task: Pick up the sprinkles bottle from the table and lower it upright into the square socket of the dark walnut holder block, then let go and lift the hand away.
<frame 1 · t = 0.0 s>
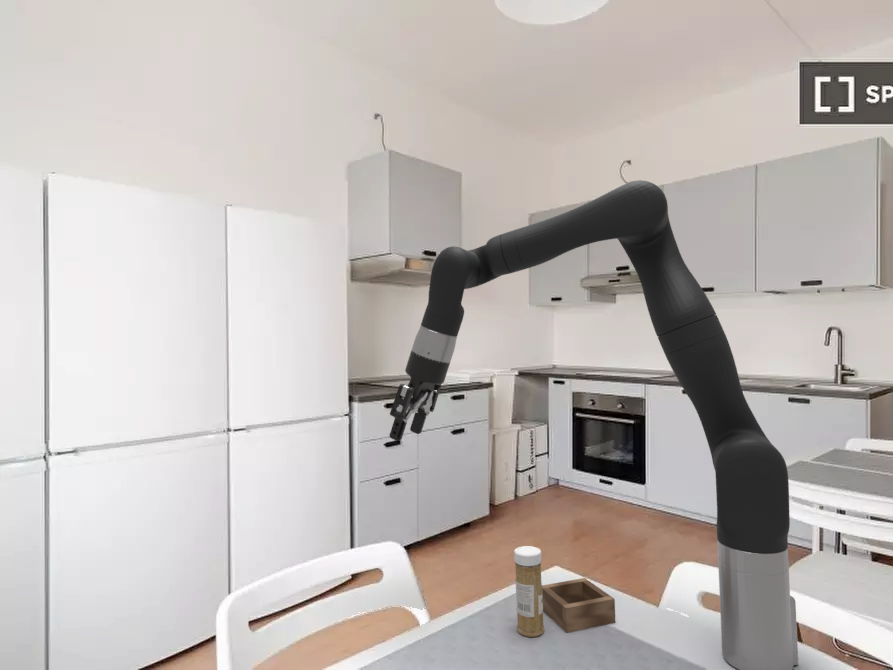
hand: (405, 435, 104), 31 cm above the table, tool tilted 20°, fingers open, 8 cm apart
sprinkles bottle: (530, 632, 93), on the table
walnut holder: (576, 615, 98), on the table
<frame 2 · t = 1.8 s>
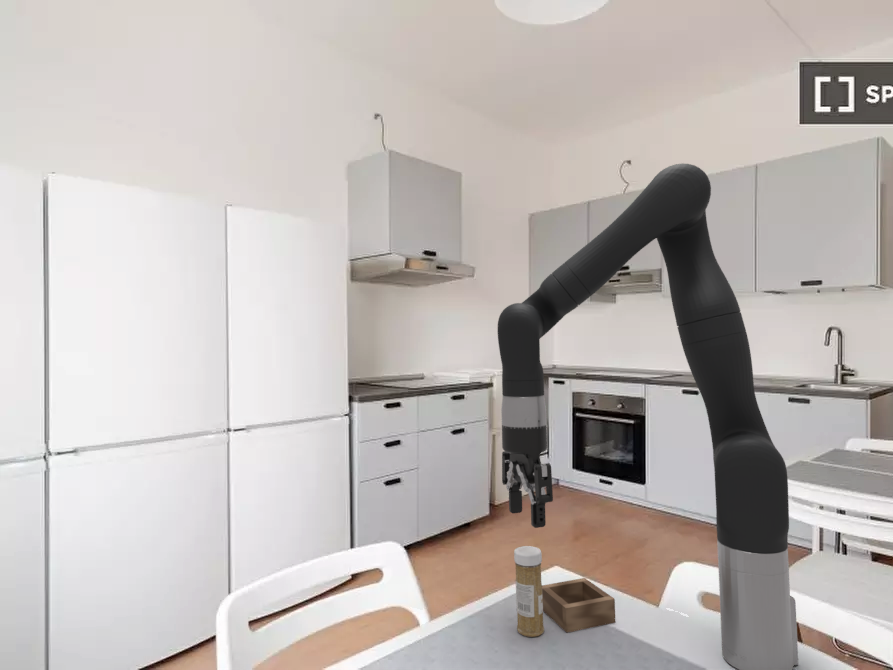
hand: (526, 519, 93), 18 cm above the table, tool pointing down, fingers open, 8 cm apart
nothing on the table moved.
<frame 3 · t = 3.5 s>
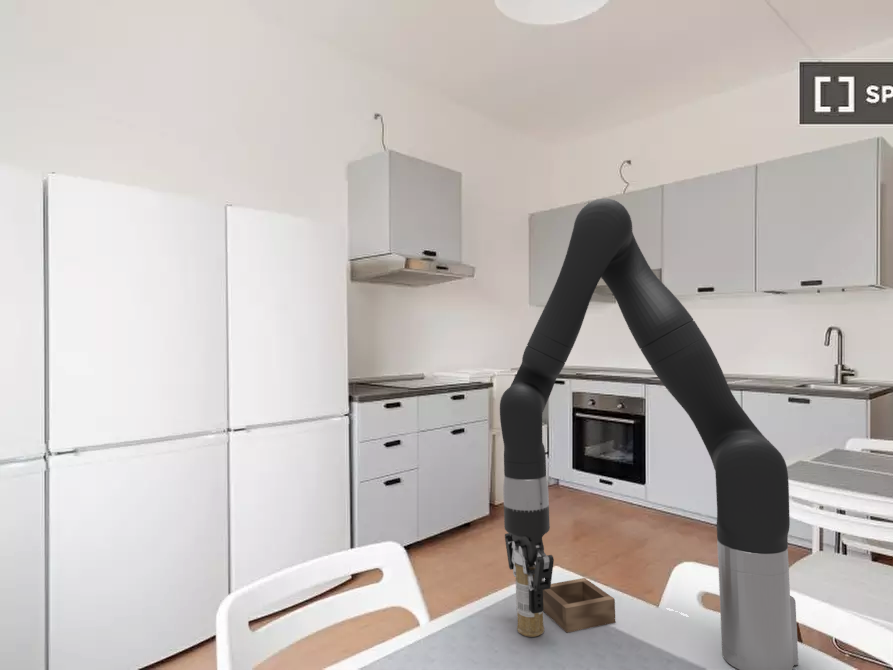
hand: (529, 604, 93), 4 cm above the table, tool pointing down, fingers closed on sprinkles bottle, 4 cm apart
sprinkles bottle: (530, 632, 93), on the table, touching gripper
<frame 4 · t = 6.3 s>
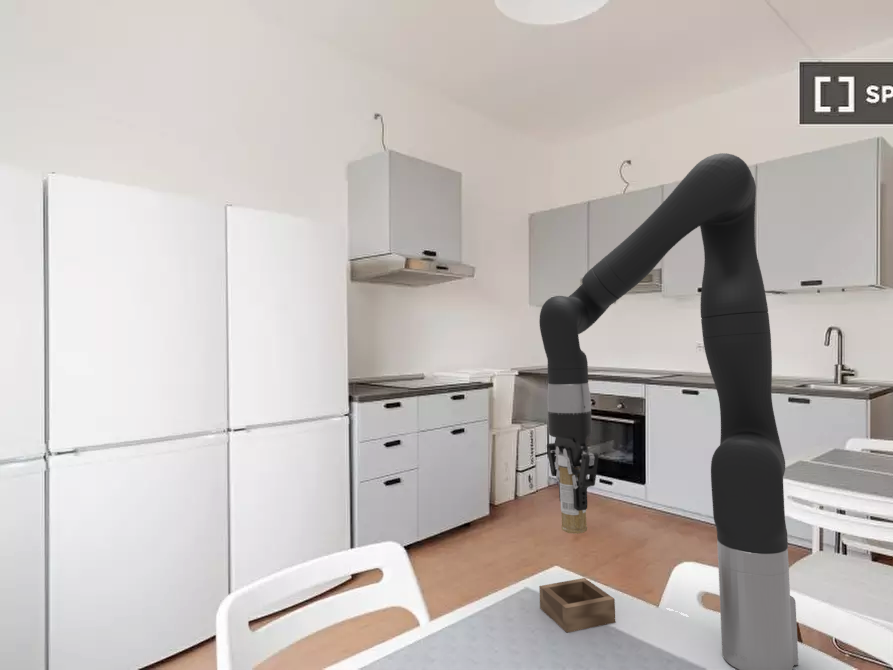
hand: (573, 505, 98), 19 cm above the table, tool pointing down, fingers closed on sprinkles bottle, 4 cm apart
sprinkles bottle: (574, 531, 98), point 15 cm above the table, touching gripper
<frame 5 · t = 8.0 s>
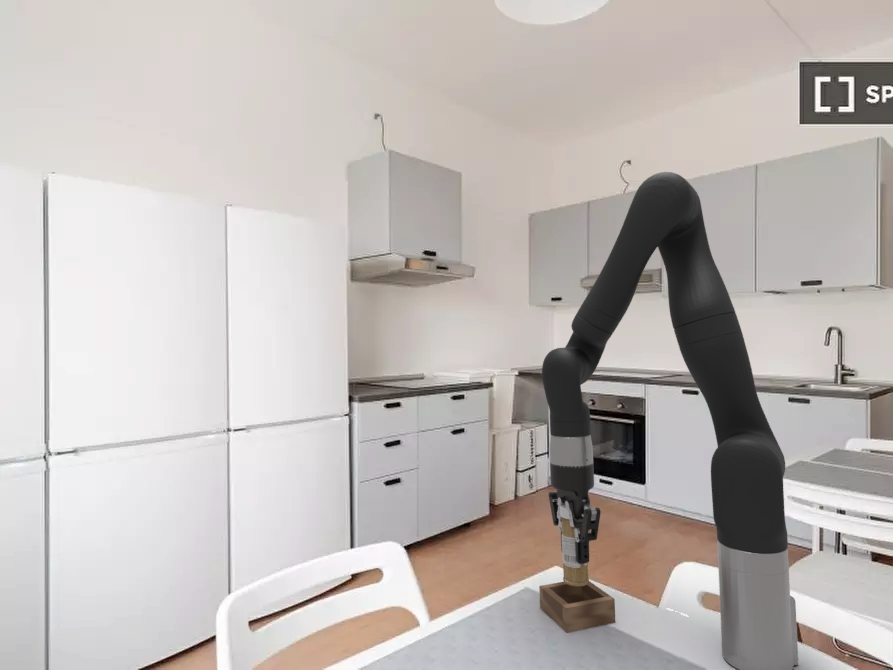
hand: (575, 557, 98), 10 cm above the table, tool pointing down, fingers closed on sprinkles bottle, 4 cm apart
sprinkles bottle: (575, 583, 98), point 6 cm above the table, touching gripper
when the fingers open (6 cm above the table, at t = 9.3 s): sprinkles bottle drops 1 cm, resting in walnut holder.
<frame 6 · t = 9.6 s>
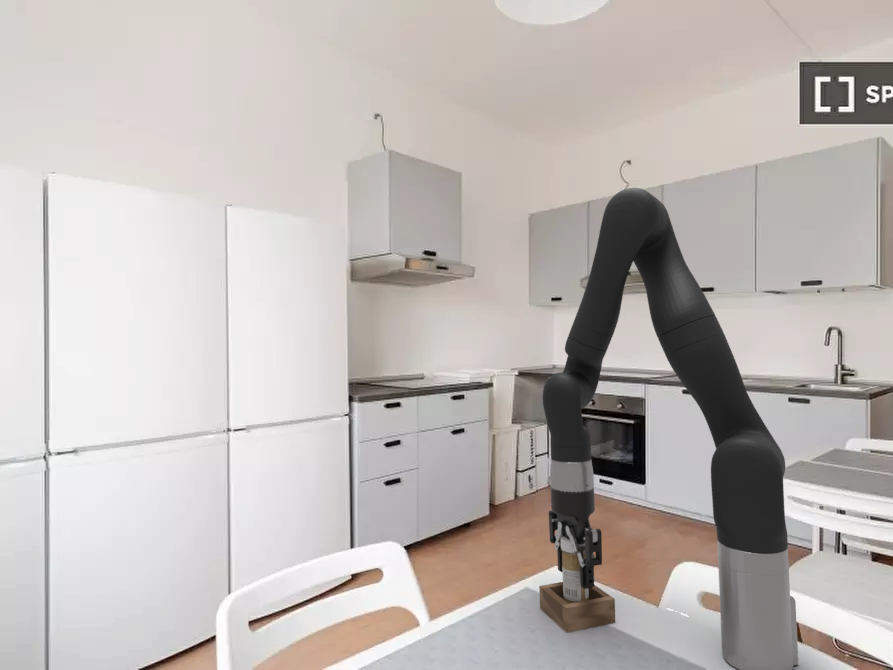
hand: (575, 578, 98), 6 cm above the table, tool pointing down, fingers open, 7 cm apart
sprinkles bottle: (576, 616, 98), resting in walnut holder
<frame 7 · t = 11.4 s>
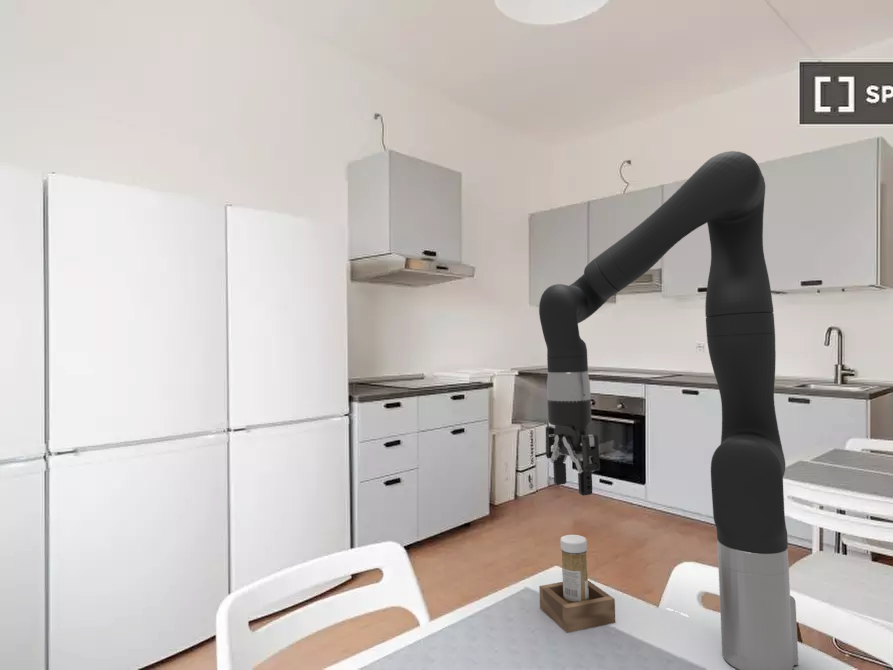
hand: (572, 489, 99), 22 cm above the table, tool pointing down, fingers open, 8 cm apart
nothing on the table moved.
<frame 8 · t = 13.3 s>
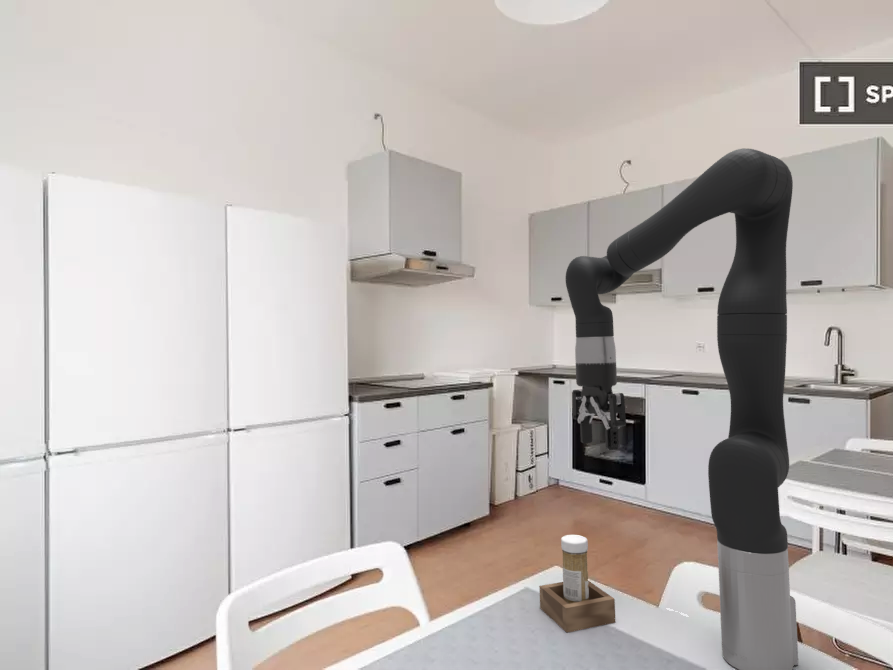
hand: (598, 446, 106), 28 cm above the table, tool pointing down, fingers open, 8 cm apart
nothing on the table moved.
at the end: sprinkles bottle 0.0 cm off-centre on the walnut holder, point 0.0 cm above the walnut holder's base; sprinkles bottle tilted 0°; the gripper is holding nothing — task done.
